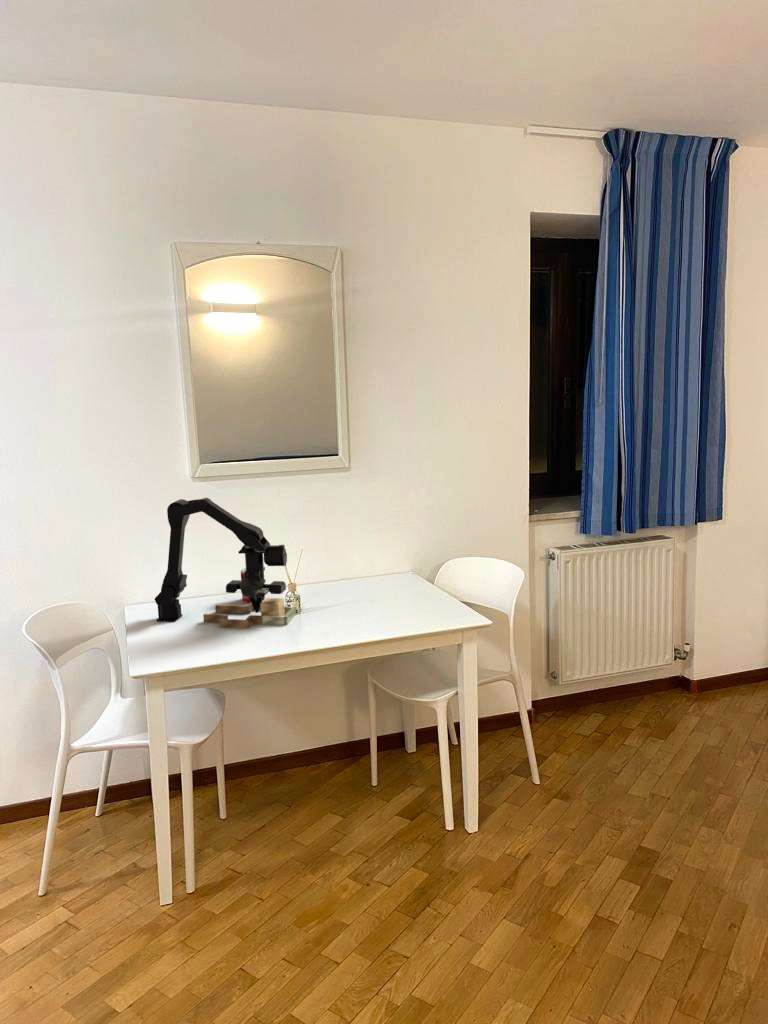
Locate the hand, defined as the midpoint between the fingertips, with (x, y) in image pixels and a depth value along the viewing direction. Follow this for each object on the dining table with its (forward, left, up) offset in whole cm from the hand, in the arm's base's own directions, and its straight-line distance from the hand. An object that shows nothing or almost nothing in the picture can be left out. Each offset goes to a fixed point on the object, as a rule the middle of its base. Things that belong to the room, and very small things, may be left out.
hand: (257, 612), depth 248 cm
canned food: (-8, +20, -2) cm, 22 cm away
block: (+5, 0, -2) cm, 6 cm away
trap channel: (-2, 0, -2) cm, 3 cm away
